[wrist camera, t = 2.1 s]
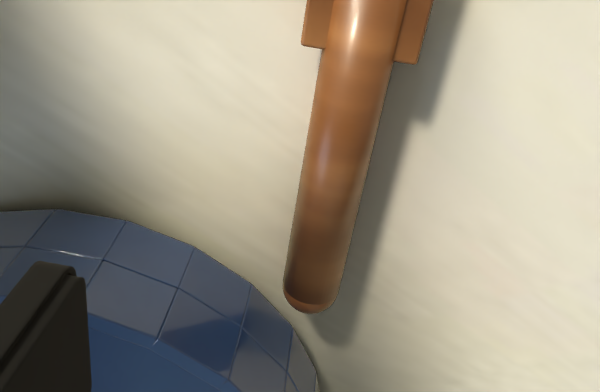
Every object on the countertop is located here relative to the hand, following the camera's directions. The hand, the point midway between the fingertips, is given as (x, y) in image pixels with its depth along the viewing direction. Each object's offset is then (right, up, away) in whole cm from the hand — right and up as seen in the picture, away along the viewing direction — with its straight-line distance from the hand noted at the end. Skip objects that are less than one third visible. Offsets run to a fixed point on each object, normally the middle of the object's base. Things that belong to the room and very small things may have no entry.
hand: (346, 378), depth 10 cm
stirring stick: (+1, +6, +8) cm, 10 cm away
